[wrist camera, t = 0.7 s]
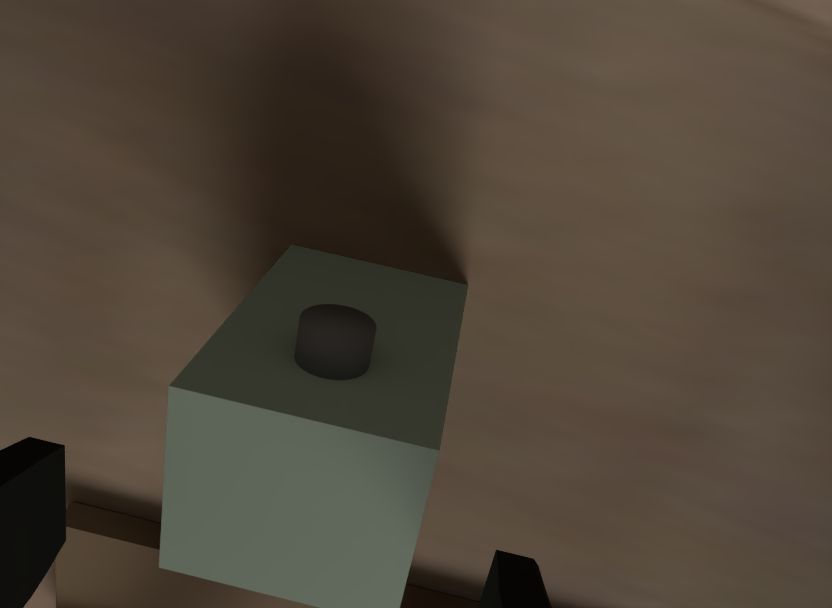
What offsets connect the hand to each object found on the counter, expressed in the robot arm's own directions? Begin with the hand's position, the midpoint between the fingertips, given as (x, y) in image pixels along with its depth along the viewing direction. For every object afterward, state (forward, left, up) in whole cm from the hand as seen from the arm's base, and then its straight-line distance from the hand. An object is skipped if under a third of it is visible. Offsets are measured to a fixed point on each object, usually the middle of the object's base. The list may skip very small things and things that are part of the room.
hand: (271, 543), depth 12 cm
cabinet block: (0, 0, -8) cm, 8 cm away
